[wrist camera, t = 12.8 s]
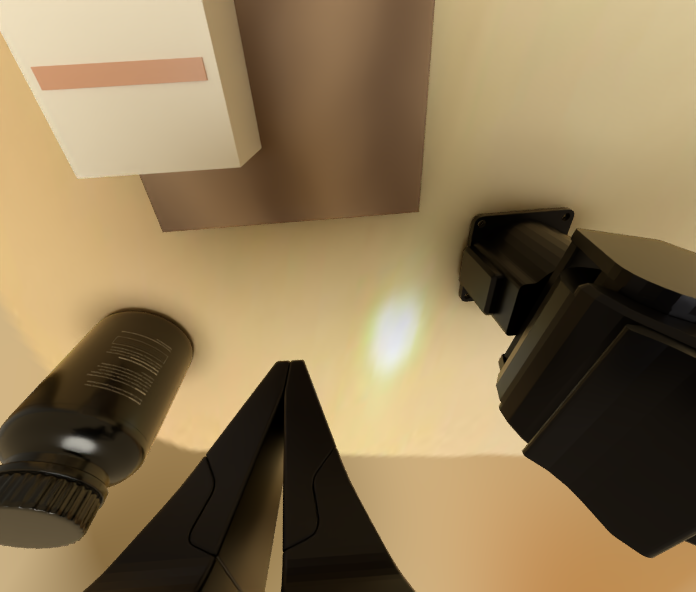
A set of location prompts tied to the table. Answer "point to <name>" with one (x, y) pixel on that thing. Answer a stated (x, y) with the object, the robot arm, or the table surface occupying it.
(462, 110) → the table surface
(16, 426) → the supplement bottle
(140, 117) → the white carton
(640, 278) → the robot arm
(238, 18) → the base plate
